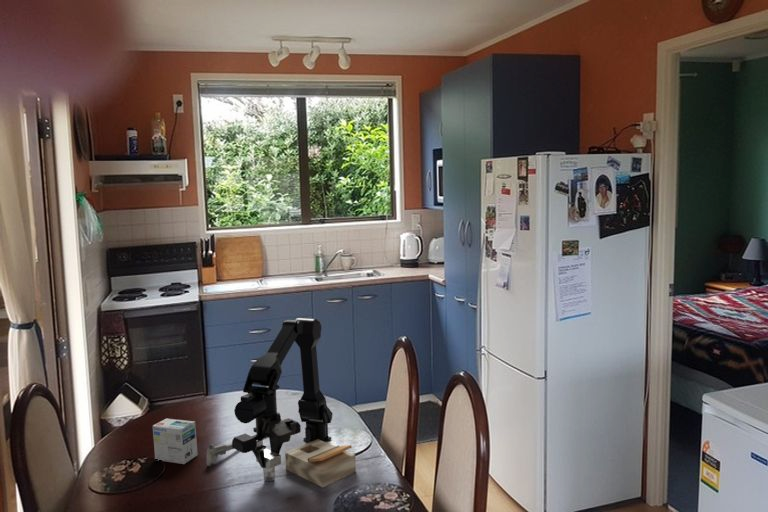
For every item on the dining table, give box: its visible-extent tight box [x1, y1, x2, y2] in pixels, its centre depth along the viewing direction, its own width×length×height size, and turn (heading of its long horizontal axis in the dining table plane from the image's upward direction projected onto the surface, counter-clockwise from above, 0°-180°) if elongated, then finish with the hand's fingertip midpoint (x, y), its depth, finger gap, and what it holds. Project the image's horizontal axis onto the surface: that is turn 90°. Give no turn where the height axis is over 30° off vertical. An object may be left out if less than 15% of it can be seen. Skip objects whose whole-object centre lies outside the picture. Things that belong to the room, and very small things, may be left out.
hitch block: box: [284, 439, 357, 488], centre depth 176 cm, size 16×12×5 cm
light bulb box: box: [152, 418, 199, 465], centre depth 186 cm, size 11×7×11 cm, turn 71°
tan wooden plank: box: [307, 444, 353, 462], centre depth 172 cm, size 6×11×1 cm, turn 136°
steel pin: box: [255, 448, 282, 482], centre depth 170 cm, size 4×6×7 cm, turn 46°
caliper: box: [206, 443, 235, 467], centre depth 189 cm, size 20×1×6 cm, turn 151°
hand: (268, 465), depth 170 cm, fingers closed on steel pin, 4 cm apart
